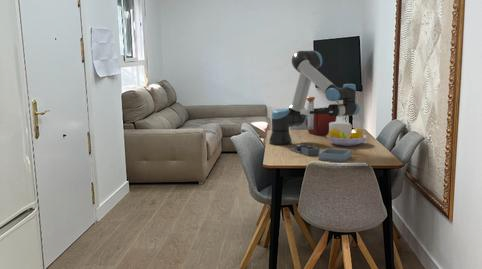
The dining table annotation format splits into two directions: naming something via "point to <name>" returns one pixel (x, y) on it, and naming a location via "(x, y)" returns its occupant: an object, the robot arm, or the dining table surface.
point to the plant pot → (321, 124)
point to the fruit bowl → (346, 137)
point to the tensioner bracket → (305, 150)
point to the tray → (335, 155)
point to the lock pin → (310, 117)
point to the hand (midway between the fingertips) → (302, 112)
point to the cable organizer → (341, 126)
